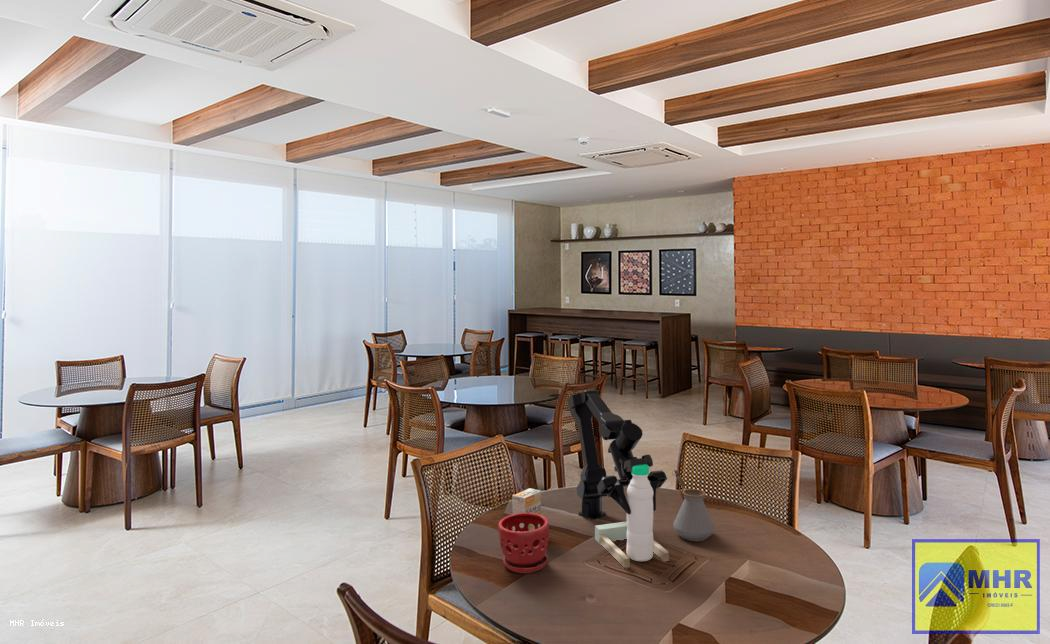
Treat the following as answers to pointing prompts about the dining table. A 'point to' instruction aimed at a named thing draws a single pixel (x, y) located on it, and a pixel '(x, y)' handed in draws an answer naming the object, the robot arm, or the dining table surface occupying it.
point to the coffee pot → (693, 515)
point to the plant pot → (524, 542)
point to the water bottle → (640, 515)
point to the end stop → (612, 531)
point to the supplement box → (527, 504)
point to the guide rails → (622, 557)
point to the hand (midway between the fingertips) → (642, 512)
